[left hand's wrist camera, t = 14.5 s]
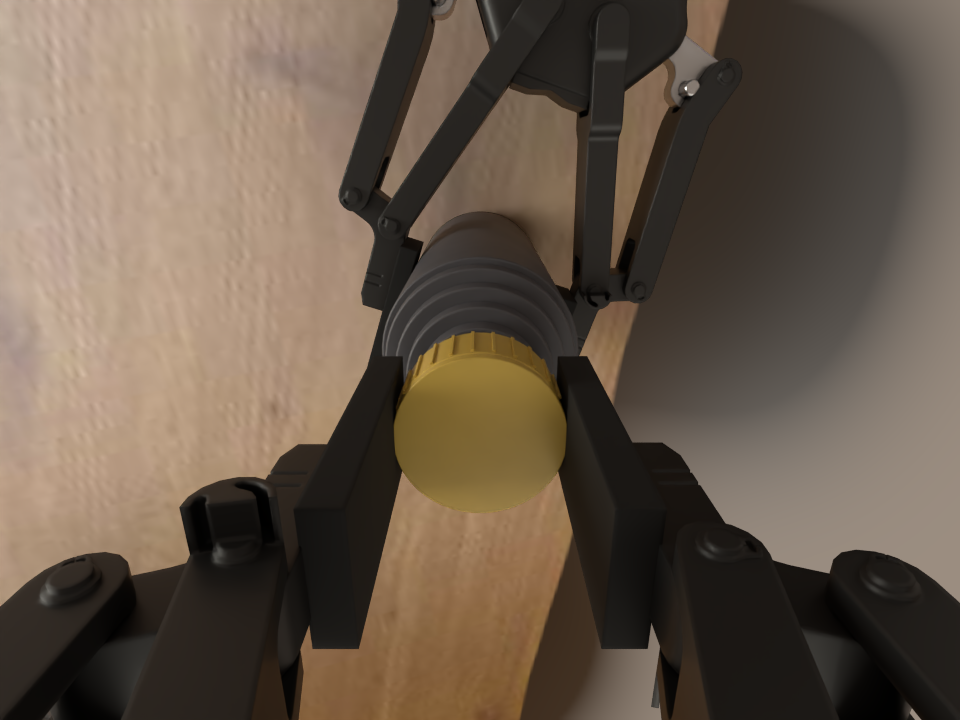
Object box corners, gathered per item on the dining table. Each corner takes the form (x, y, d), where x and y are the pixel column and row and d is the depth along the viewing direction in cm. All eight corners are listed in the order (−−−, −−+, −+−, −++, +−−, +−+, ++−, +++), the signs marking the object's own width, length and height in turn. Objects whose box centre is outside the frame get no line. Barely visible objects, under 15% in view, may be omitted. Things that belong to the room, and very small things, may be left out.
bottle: (550, 306, 32) (641, 505, 14) (444, 338, 33) (400, 569, 15) (518, 195, 30) (578, 261, 12) (406, 232, 31) (300, 349, 12)
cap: (584, 437, 15) (597, 476, 13) (444, 495, 16) (440, 539, 14) (520, 302, 14) (526, 324, 12) (371, 371, 14) (356, 401, 12)
